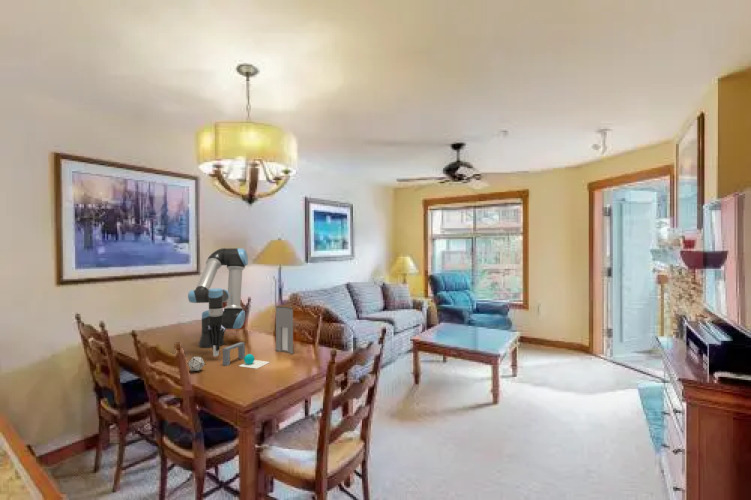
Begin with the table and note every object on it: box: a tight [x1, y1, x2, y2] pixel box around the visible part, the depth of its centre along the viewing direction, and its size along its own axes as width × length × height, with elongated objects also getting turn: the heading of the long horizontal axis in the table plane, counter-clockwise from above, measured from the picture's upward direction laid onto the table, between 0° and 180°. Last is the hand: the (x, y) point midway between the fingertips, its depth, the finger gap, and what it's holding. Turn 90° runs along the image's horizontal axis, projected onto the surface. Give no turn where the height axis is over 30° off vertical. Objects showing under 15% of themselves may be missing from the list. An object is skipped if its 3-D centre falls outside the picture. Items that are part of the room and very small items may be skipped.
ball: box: [243, 353, 255, 364], centre depth 213 cm, size 6×6×6 cm
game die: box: [186, 355, 207, 373], centre depth 201 cm, size 9×8×10 cm
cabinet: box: [275, 302, 294, 355], centre depth 241 cm, size 21×10×28 cm, turn 17°
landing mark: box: [238, 359, 271, 370], centre depth 213 cm, size 12×12×1 cm
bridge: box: [222, 341, 246, 367], centre depth 218 cm, size 3×14×9 cm, turn 160°
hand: (215, 355), depth 222 cm, fingers closed
